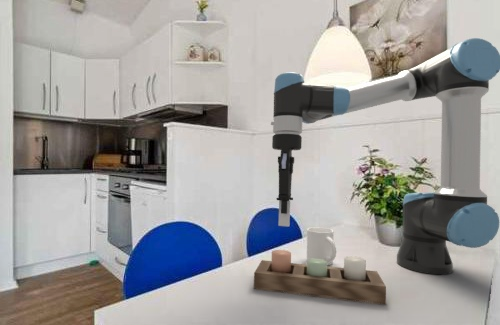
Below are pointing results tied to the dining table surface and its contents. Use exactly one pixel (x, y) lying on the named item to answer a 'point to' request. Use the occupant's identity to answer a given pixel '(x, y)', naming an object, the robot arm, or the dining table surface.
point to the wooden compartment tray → (321, 283)
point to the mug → (321, 244)
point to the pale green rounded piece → (317, 267)
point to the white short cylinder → (354, 268)
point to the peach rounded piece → (281, 261)
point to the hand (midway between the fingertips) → (283, 225)
